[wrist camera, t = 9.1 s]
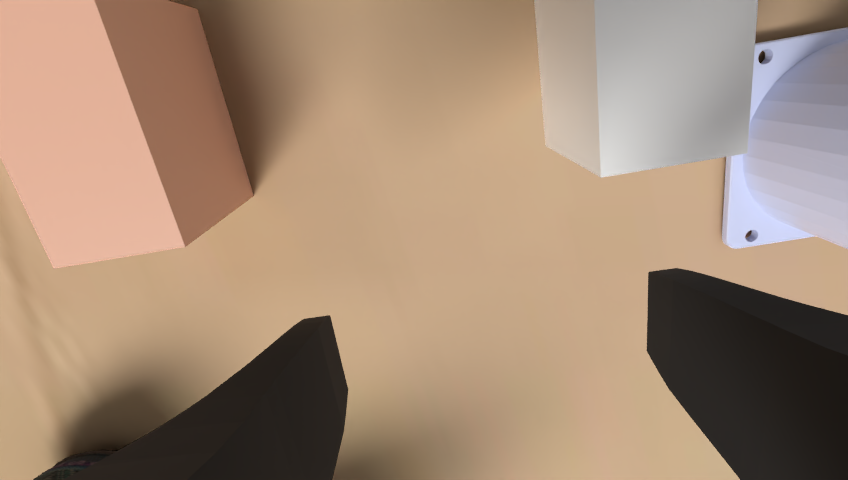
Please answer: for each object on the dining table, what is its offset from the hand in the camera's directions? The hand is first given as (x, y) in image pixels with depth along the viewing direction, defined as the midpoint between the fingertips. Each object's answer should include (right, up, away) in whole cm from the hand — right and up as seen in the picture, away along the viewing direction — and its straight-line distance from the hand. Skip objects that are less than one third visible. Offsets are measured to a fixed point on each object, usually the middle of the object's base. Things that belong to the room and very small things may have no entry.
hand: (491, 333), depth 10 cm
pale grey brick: (+5, +9, +7) cm, 13 cm away
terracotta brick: (-11, +7, +7) cm, 15 cm away
